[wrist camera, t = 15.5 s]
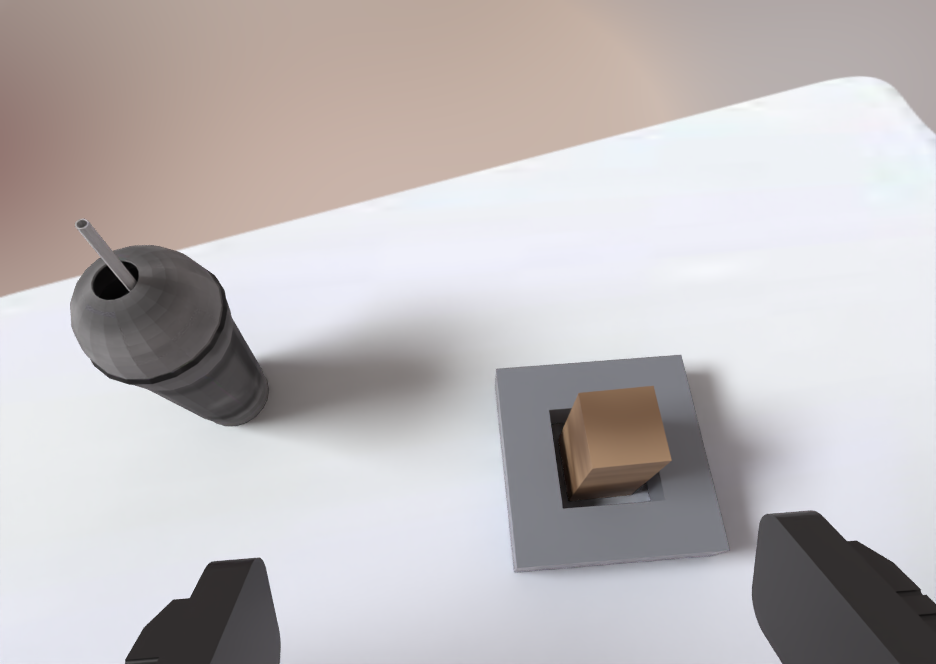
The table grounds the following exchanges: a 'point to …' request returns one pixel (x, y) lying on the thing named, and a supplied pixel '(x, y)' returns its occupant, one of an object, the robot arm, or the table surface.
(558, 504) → the socket
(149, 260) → the beverage cup
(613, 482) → the peg
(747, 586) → the table surface
